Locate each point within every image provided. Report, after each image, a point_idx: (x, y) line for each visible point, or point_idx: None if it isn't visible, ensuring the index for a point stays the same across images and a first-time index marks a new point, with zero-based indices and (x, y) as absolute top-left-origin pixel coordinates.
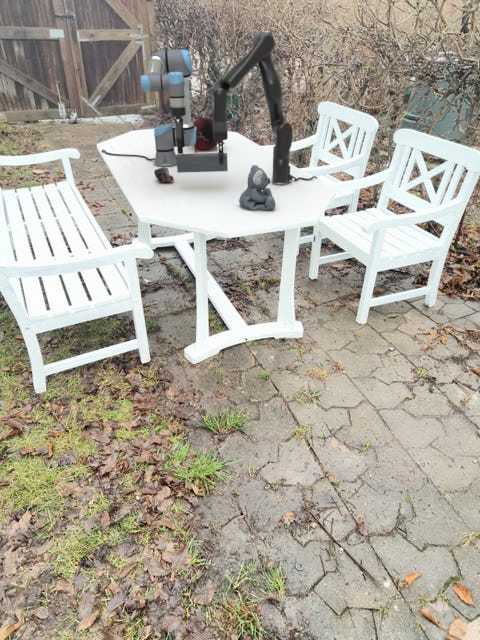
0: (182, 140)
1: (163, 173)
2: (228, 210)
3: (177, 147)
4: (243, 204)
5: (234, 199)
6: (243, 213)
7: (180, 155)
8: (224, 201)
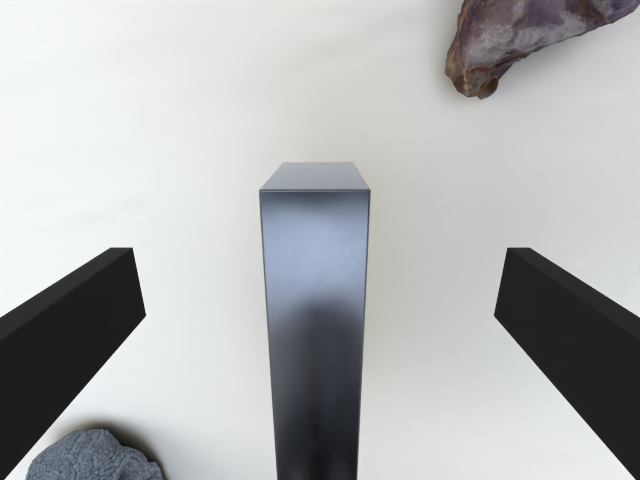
0: (562, 360)
1: (481, 7)
2: None
3: (42, 293)
4: (47, 448)
5: (178, 404)
6: None
7: (295, 243)
8: (148, 368)
